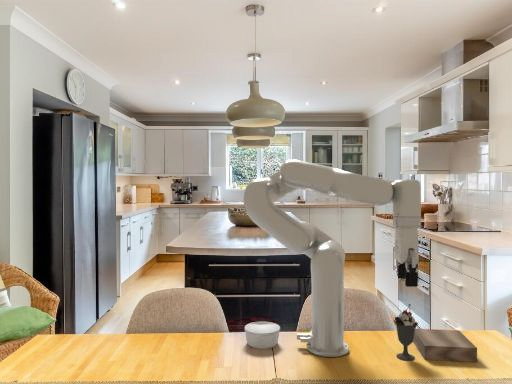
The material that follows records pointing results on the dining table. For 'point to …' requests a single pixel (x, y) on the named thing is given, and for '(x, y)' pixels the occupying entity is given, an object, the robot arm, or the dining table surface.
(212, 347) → the dining table surface
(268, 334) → the ramekin
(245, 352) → the dining table surface
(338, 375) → the dining table surface
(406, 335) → the sundae
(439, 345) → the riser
